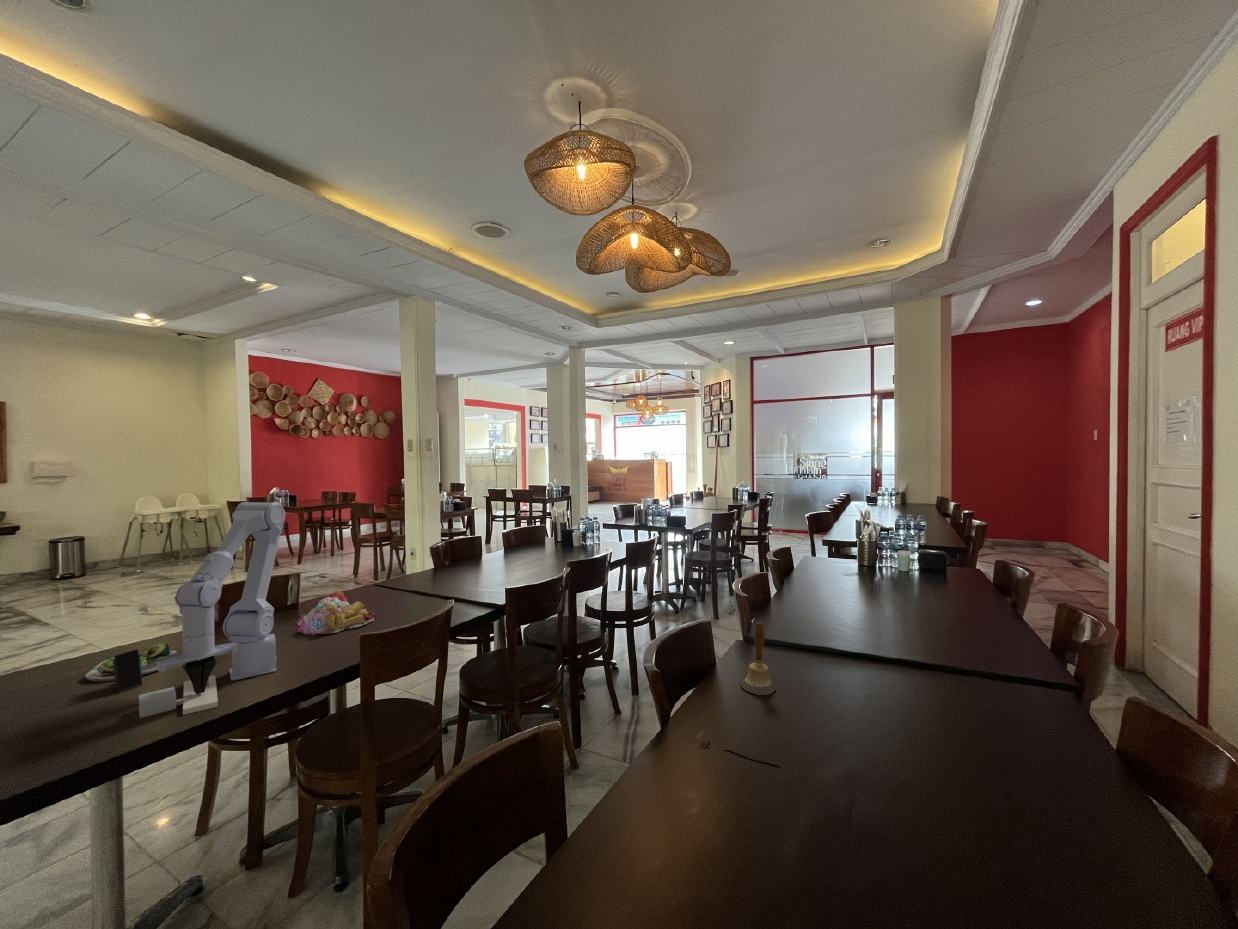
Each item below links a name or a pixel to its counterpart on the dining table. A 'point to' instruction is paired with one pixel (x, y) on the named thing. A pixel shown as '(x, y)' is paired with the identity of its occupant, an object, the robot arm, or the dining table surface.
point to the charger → (158, 702)
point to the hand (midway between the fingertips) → (199, 692)
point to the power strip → (200, 697)
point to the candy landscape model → (334, 616)
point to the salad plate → (146, 659)
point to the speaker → (127, 670)
